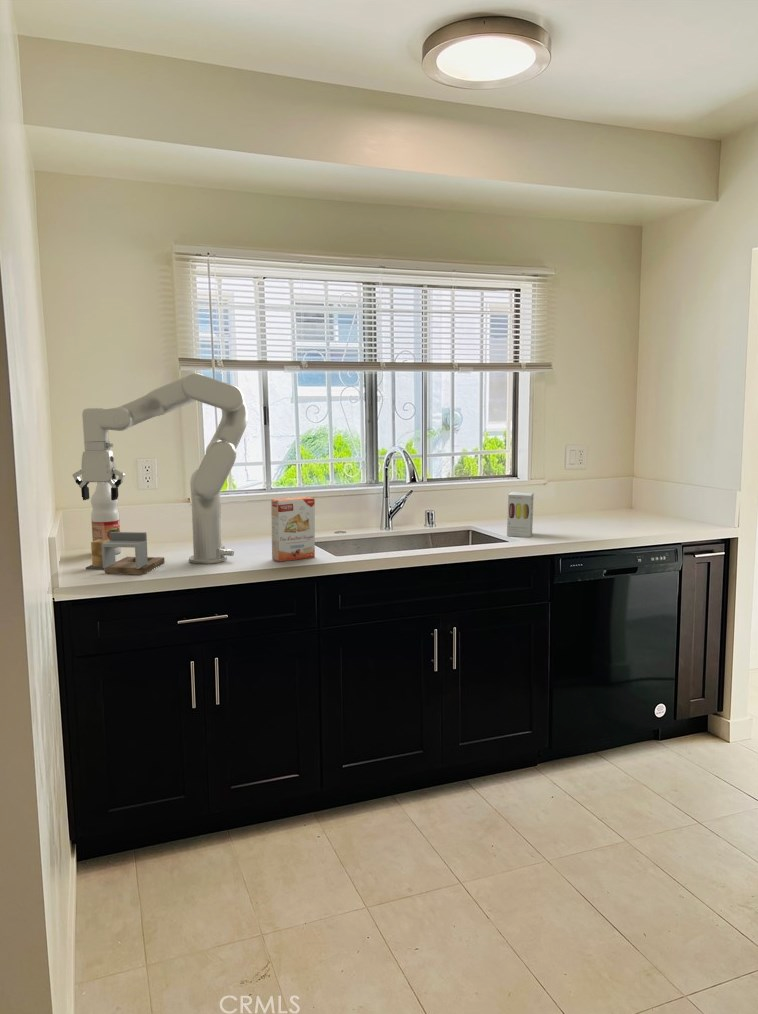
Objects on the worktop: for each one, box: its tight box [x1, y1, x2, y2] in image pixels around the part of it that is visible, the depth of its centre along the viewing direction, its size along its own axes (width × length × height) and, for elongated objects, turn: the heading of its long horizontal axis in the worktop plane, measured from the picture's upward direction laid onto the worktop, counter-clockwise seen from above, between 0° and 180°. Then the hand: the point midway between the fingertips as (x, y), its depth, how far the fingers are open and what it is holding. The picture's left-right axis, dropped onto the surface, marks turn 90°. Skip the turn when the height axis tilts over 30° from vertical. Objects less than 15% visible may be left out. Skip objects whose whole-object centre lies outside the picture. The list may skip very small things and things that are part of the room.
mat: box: [85, 564, 105, 570], centre depth 245 cm, size 8×8×1 cm
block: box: [90, 539, 110, 567], centre depth 245 cm, size 5×5×8 cm
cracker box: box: [270, 496, 316, 563], centre depth 256 cm, size 14×6×21 cm, turn 123°
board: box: [104, 556, 166, 575], centre depth 243 cm, size 13×16×2 cm
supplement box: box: [506, 491, 535, 538], centre depth 299 cm, size 10×9×17 cm
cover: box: [102, 531, 149, 569], centre depth 235 cm, size 12×7×10 cm, turn 84°
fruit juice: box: [90, 482, 122, 555], centre depth 265 cm, size 9×9×28 cm
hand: (100, 499), depth 242 cm, fingers open, 9 cm apart
